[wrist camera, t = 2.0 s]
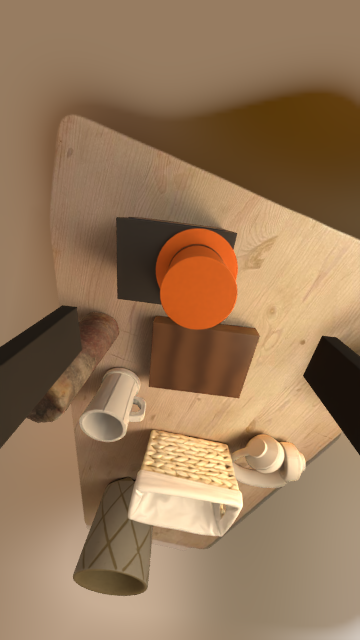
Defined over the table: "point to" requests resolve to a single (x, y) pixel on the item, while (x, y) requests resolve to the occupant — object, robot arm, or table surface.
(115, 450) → the table surface
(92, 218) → the table surface
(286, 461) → the headphones
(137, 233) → the television
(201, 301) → the hat
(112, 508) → the planter
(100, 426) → the cup
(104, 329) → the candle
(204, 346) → the brown wooden board
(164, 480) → the basket
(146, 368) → the table surface
